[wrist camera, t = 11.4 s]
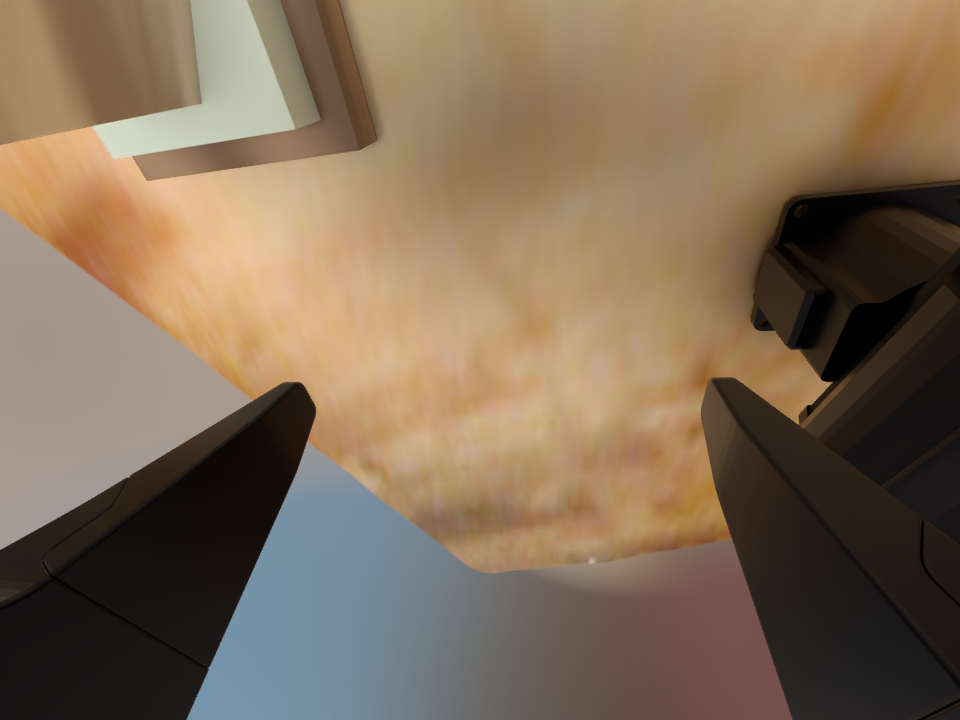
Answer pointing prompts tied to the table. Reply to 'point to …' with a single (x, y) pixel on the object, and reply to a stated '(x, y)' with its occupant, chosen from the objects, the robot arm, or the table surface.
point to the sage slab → (228, 83)
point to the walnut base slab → (333, 89)
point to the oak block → (92, 63)
